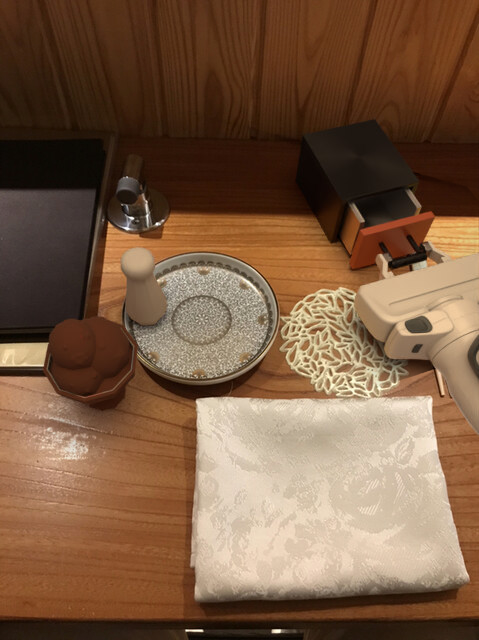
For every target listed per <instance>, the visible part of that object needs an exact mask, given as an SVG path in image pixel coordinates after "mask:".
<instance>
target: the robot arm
mask: <svg viewBox="0 0 479 640" xmlns="http://www.w3.org/2000/svg"><path fill="white" fill-rule="evenodd" d="M419 248H420V250H421V252H422V251H425V252H426V254H427V259H429V260H431V261H433V262H434V263H435V264H433V265H429V266H426V267H422V268H419V269H415V270H412V271H408V272H404V273H400V274H398V275H394V273H393V272H392V270H390V271H389V270H388V269H390V268H389V267H390V264H391V263H392V261H393V260H392V258H391V257H390V256H389V253H388V252H386V253H382V254H378V255H377V257H376V260H375V261H376V263H375V264H376V265H377V267H378V269H379V274H378V280H377V281H373V282H369V283H366V284H362V285H360V286H359V287H358V289H357V291H356V293H355V296H354V299H353V308H354V309H355V312H356V314H357V315H358V317H359V319H360V320H361V322H362V323H363V325H364V327H365V328H366V329H367V330H368V332H369V334H370V335H371V336H372V337H373V338H375V339H376V340H377V341H379V342H382V343H385V344H384V347H383V350H384V353H385V355H386V356H387V358H389V359H391V360H423V361H424V360H425V361H430V363H431V364H432V366H433V367H434V368H435V369H436V370H437V372H439V373H440V374H441V375H442V377H443V378H444V380H445V382H446V385H447V391H448V392H449V395H450V397H451V398H452V399H453V402H454V403H455V405H456V406H457V408H458V409H459V411H460V413H461V415H462V416H463V418H464V419H465V420H466V421H467V423H468V424H469V426H470V427H471V428H472V429H473V431H474V432H475V433H476V435H478V436H479V252H476V253H472V254H468V255H465V256H461V257H458V258H454V259H453V258H452V257H451V255H450V254H448V253H446V252H445V251H443V250H441V249H439V248H436V246H435V245H434V243H433V241H432V240H426V241H423V242H422V243H420V246H419Z"/></svg>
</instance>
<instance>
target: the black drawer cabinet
mask: <svg viewBox="0 0 479 640" xmlns="http://www.w3.org/2000/svg"><path fill="white" fill-rule="evenodd" d="M298 156H299V157H298V161H297V167H296V174H295V183H296V184H297V186H298V188H299V189H300V191H301V193H302V194H303V196H304V198H305V200H306V202H307V203H308V205H309V207H310V209H311V211H312V212H313V214H314V216H315V218H316V220H317V221H318V224H319V225H320V227H321V229H322V230H323V232H324V234H325V236H326V238H327V240H328V241H329V243H330V244H335V243H338V242H342V240H341V238H340V236H339V235H338V230H339V227H340V223H341V219H342V216H343V212H344V208H345V205H346V203H348V202H352V201H356V200H360V199H364V198H368V197H372V196H376V195H381V194H385V193H389V192H393V191H397V190H401V189H405V188H409V189H410V190H411V192H412V193H413V195H414V196H415V194H416V191H417V189H418V187H419V184H420V180H419V178H418V177H417V176H416V175H415V173H414V171H413V170H412V168H411V167H410V166H409V165H408V163H407V162H406V161H405V159H404V157H403V156H402V154H401V153H400V152H399V151H398V149H397V147H396V146H395V145H394V143H393V141H391V139H390V138H389V137H388V135H387V134H386V133H385V131H384V130H383V128H382V126H381V125H380V124H379V123H378V121H377V119H376V118H373V119H369V120H363V121H359V122H355V123H351V124H346V125H341V126H335V127H332V128H327V129H322V130H318V131H313V132H309V133H308V132H307V133H305V134H302V137H301V142H300V150H299V155H298Z"/></svg>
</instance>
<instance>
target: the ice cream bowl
mask: <svg viewBox="0 0 479 640" xmlns="http://www.w3.org/2000/svg"><path fill="white" fill-rule="evenodd" d="M138 350H139V344H138V343H137V341H136V340H135V339H134V338H133V336H132V335H131V333H130V331H129V330H128V329H127V328H126V327H125V325H124V324H121V323H117V322H116V321H113V320H111V319H108V318H106V317H104V316H98V315H96V316H88V317H87V318H83V319H81V320H79V319H76V318H66V319H65V320H63V321H62V322H60V323H57V324H56V325H55V327H54V328H53V329H52V331H51V332H50V333H49V336H48V344H47V348H46V351H45V357H44V362H43V367H42V372H43V374H44V375H45V377H46V378H47V380H48V381H49V383H50V385H51V387H52V388H53V389H54V391H55V393H56V394H57V395H59V396H60V397H62V398H65V399H68V400H72V401H74V402H78V403H81V404H84V405H88V407H89V408H91V409H94V410H97V411H101V412H105V411H109V410H113V409H115V408H117V407H118V406H119V404H121V402H122V401H123V400H124V399H125V398H126V391H127V389H126V388H127V385H129V383H130V382H131V381H132V380H133V379H134V377H135V376H136V368H137V359H138Z"/></svg>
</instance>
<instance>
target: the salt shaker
mask: <svg viewBox="0 0 479 640" xmlns="http://www.w3.org/2000/svg"><path fill="white" fill-rule="evenodd" d="M120 270H121V272H122V273H123V275H124V276H125V277H126V288H125V289H126V291H125V303H124V304H125V305H124V306H125V312H126V314H127V315H128V317H129V318H130V319H131V321H134V322H136V323H138V324H139V325H141V326H143V327H144V326H151V325H152V326H153V325H156V324H157V323H158V322H159V321H160V319H161V318H163V316H165V313H166V311H167V309H168V301H167V297H166V295H165V293H164V291H163V289H162V287H161V286H160V283H159V281H158V279H157V278H156V276H155V274H154V271H155V270H156V259H155V256H154V254H153V253H152V252H151V250H150V249H147V248H146V247H140V246H135V247H132V248H129V249H127V250H126V251H124V252H123V254H122V256H121V257H120Z"/></svg>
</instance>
